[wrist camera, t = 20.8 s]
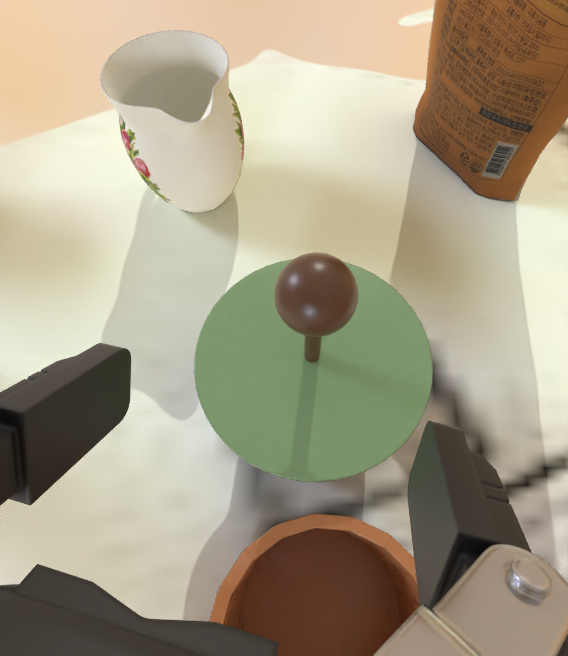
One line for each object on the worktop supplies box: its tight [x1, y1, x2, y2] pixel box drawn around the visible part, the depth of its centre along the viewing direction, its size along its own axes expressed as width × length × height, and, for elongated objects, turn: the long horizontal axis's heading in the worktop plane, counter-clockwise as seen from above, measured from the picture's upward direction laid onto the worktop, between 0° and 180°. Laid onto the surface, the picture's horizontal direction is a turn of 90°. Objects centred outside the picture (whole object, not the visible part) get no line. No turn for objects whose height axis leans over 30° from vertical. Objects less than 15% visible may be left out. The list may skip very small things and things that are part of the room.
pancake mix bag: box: [413, 0, 568, 201], centre depth 33 cm, size 7×19×28 cm, turn 30°
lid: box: [194, 253, 433, 482], centre depth 21 cm, size 14×14×10 cm
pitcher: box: [100, 30, 244, 213], centre depth 39 cm, size 11×18×14 cm, turn 27°
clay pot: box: [209, 514, 420, 656], centre depth 24 cm, size 12×12×10 cm
